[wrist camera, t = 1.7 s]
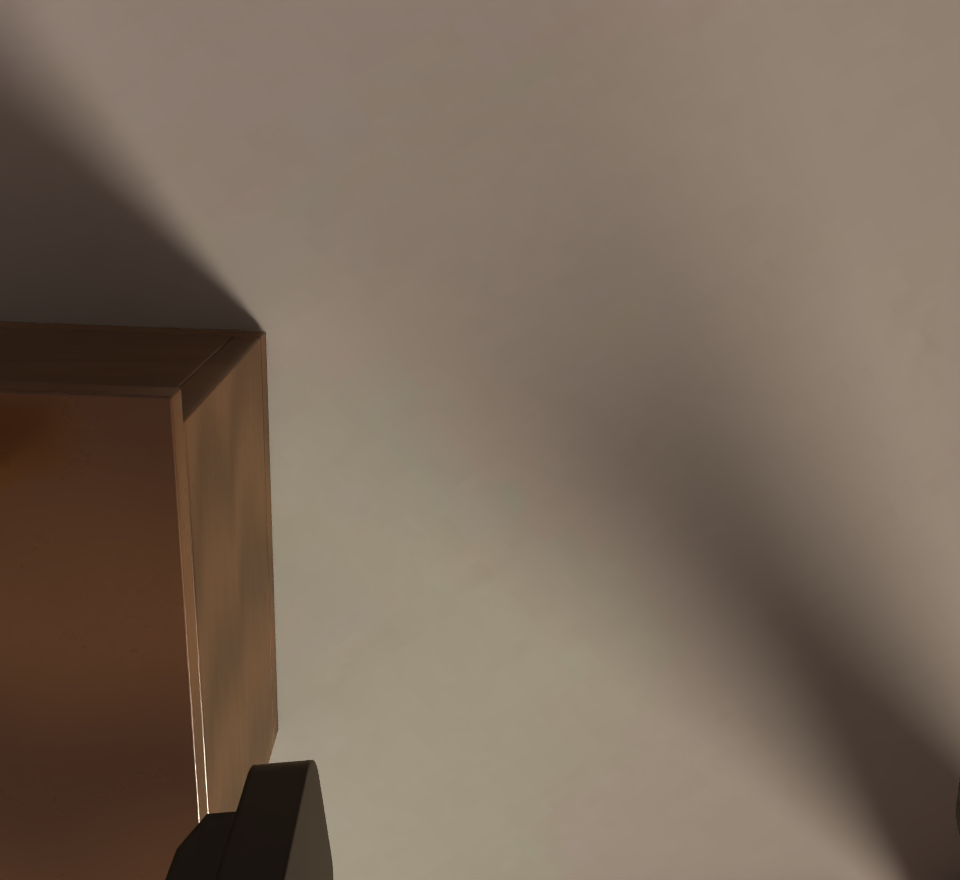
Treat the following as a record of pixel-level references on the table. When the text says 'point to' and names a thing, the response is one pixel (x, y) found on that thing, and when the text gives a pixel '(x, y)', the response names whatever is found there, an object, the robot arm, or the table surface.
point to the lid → (96, 634)
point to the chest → (199, 507)
